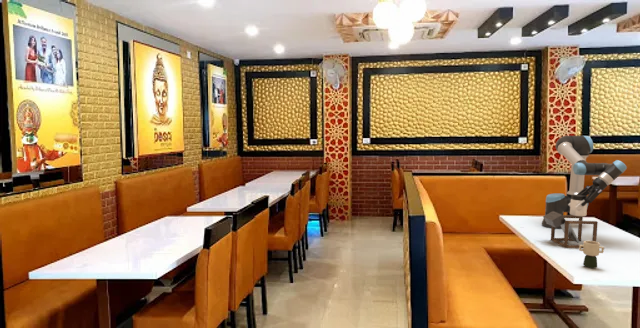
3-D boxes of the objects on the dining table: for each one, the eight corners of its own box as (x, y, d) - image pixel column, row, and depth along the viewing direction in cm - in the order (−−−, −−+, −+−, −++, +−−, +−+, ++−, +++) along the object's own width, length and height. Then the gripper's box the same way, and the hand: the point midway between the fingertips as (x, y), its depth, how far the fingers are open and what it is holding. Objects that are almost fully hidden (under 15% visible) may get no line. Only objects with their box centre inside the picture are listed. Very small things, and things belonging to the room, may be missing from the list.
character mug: (601, 266, 240) (602, 241, 239) (603, 270, 234) (605, 245, 233) (577, 263, 245) (578, 239, 243) (578, 267, 238) (580, 242, 237)
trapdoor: (542, 216, 291) (553, 209, 290) (556, 242, 292) (567, 236, 291) (552, 220, 277) (564, 214, 276) (567, 248, 278) (579, 242, 277)
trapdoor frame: (550, 240, 294) (552, 215, 292) (579, 240, 293) (581, 215, 292) (564, 247, 276) (566, 221, 274) (595, 248, 275) (597, 221, 274)
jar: (571, 215, 281) (572, 195, 280) (568, 213, 289) (569, 194, 287) (588, 216, 278) (589, 196, 277) (584, 214, 286) (586, 194, 285)
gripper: (616, 188, 270) (586, 215, 272) (597, 183, 291) (569, 208, 293) (608, 179, 270) (577, 206, 272) (588, 175, 291) (560, 200, 293)
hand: (573, 207), depth 283 cm, fingers closed on jar, 8 cm apart
